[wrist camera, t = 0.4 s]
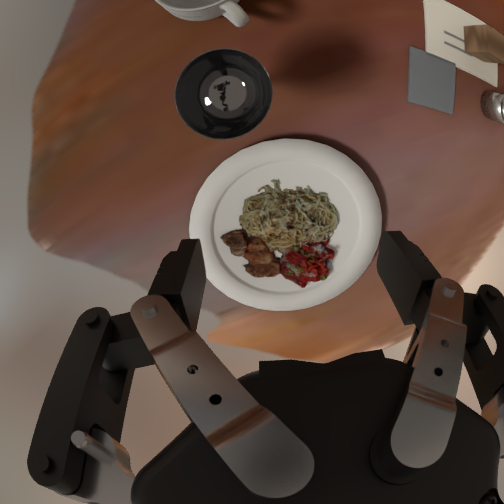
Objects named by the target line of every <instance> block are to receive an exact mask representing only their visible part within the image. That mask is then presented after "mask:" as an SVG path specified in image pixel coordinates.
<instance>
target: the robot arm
mask: <svg viewBox="0 0 504 504" xmlns="http://www.w3.org/2000/svg"><path fill="white" fill-rule="evenodd" d="M377 271H378V274H379V276H380V278H381V279H382V281H383V283H384V285H385V287H386V289H387V291H388V293H389V295H390V297H391V299H392V301H393V303H394V305H395V307H396V309H397V311H398V313H399V315H400V317H401V319H402V321H403V323H404V325H409V324H415V325H416V327H415V329H414V332H413V335H412V338H411V341H410V344H409V347H408V349H407V352H406V355H405V358H404V361H403V362H401V361H398V360H394V359H389V358H385V357H384V354H383V351H382V349H380V350H374V351H367V352H360V353H354V354H351V355H348V356H346V357H343V358H340V359H337V360H335V361H332V362H329V363H314V362H306V361H298V360H275V361H259V370H258V371H255V372H251V373H249V374H246V375H244V376H242V377H240V378H238V379H236V378H235V377H234V376H233V375H232V374H231V372H230V371H229V370H228V369H227V368H226V367H225V365H224V364H223V363H222V362H221V361H220V360H219V359H218V357H217V356H216V355H215V354H214V353H213V351H212V350H211V349H210V348H209V347H208V345H207V344H206V343H205V342H204V340H203V339H202V338H201V337H200V336H199V334H198V333H197V332H196V329H197V323H198V318H199V313H200V308H201V303H202V298H203V293H204V288H205V283H206V269H205V263H204V258H203V252H202V246H201V242H200V239H199V238H198V239H182V240H181V242H180V245H179V247H178V250H177V251H171V252H170V253H169V254H167V255H166V256H165V257H164V258H163V260H162V262H161V264H160V268H159V269H158V271H157V274H156V276H155V278H154V281H153V283H152V285H151V288H150V290H149V292H148V295H147V296H145V297H142V298H140V299H139V300H137V301H136V302H135V303H134V304H133V305H132V308H131V311H130V312H128V313H124V314H119V315H115V316H110V314H109V312H108V311H107V310H106V309H105V308H102V307H95V308H91V309H89V310H87V311H85V312H84V313H83V314H82V315H81V316H80V317H79V318H78V320H77V322H76V324H75V326H74V328H73V331H72V333H71V335H70V337H69V339H68V342H67V344H66V346H65V348H64V351H63V353H62V356H61V358H60V360H59V363H58V365H57V368H56V370H55V373H54V375H53V378H52V380H51V383H50V386H49V388H48V391H47V394H46V397H45V400H44V403H43V406H42V409H41V412H40V415H39V418H38V421H37V424H36V428H35V431H34V435H33V438H32V442H31V446H30V450H29V454H28V459H27V465H28V470H29V473H30V475H31V477H32V478H33V479H34V481H36V482H37V483H38V484H40V485H42V486H44V487H46V488H48V489H51V490H53V491H55V492H56V493H58V494H60V495H63V496H65V497H68V498H71V499H74V500H77V501H79V502H83V503H89V504H504V503H503V502H502V500H501V499H500V497H499V495H498V489H497V477H498V465H499V459H500V458H504V296H503V295H502V293H501V292H500V291H499V290H498V289H496V288H495V287H493V286H491V285H487V284H484V285H481V286H480V287H479V289H478V291H477V294H472V293H464V291H463V289H462V287H461V286H460V285H459V284H458V283H457V282H455V281H454V280H452V279H449V278H442V277H441V275H440V274H439V273H438V271H437V270H436V269H435V267H434V266H433V265H432V263H431V262H430V261H429V259H428V258H427V257H426V256H425V255H424V253H423V252H422V251H421V249H420V248H419V247H418V246H416V245H415V244H414V243H412V242H411V241H408V239H407V238H406V237H405V236H404V234H403V233H402V232H401V231H385V232H384V233H383V235H382V239H381V244H380V249H379V254H378V259H377ZM489 329H490V331H491V333H492V335H493V337H494V338H495V340H496V344H497V349H496V352H495V354H494V355H492V353H491V351H490V349H489V347H488V345H487V343H486V341H485V339H484V336H485V335H486V333H487V332H488V330H489ZM463 362H464V365H465V367H466V369H467V372H468V374H469V377H470V379H471V382H472V384H473V387H474V390H475V393H476V395H477V398H478V401H479V404H480V407H481V410H482V413H481V416H480V415H479V414H478V413H476V412H475V411H473V410H472V409H471V408H469V407H467V406H466V405H465V404H464V403H462V402H461V401H459V400H458V399H457V398H456V394H457V389H458V385H459V380H460V375H461V370H462V363H463ZM154 364H155V365H156V367H157V369H158V370H159V372H160V374H161V375H162V377H163V379H164V380H165V382H166V384H167V385H168V387H169V388H170V390H171V392H172V393H173V395H174V396H175V398H176V400H177V401H178V403H179V404H180V406H181V408H182V409H183V411H184V412H185V414H186V415H187V417H188V418H189V420H190V421H191V423H190V424H189V425H188V426H187V427H186V428H185V429H184V430H183V431H182V432H181V433H180V434H179V435H178V436H177V437H176V438H175V439H174V440H173V441H172V442H170V444H168V445H167V446H166V447H165V448H164V449H163V450H162V451H161V452H160V453H159V454H157V456H155V457H154V458H153V459H152V460H151V461H150V462H149V463H147V464H146V465H145V466H144V467H143V468H142V469H141V470H140V471H139V472H138V474H137V475H136V477H135V475H134V474H133V472H132V470H131V466H130V456H129V453H128V451H127V450H126V448H125V447H124V446H123V445H121V444H120V440H121V434H122V428H123V422H124V417H125V412H126V407H127V401H128V397H129V393H130V388H131V384H132V379H133V375H134V371H135V368H140V367H144V366H149V365H154Z"/></svg>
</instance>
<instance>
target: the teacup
mask: <svg viewBox="0 0 504 504" xmlns="http://www.w3.org/2000/svg"><path fill="white" fill-rule="evenodd" d="M155 1H156V2H157V3H159V4H160V5H162V6H163V7H164V8H165V9H166V10H167V11H168V12H170V13H171V14H173V15H174V16H176V17H179V18H181V19H185V20H190V21H204V20H210V19H213V18H216V17H219V16H221V15H223V16H225V17H226V18H227V19H228V20H230V21H231V22H232V23H233V24H234V25H235V26H237V27H242V26H244V25H246V24H247V23H248V22H249V17H248V15H247V14H246V12H245V11H244V10H243V9H242V8H241V7H240V6H239V5H238V4H237V3H238V2H239V1H240V0H155Z"/></svg>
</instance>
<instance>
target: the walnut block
mask: <svg viewBox="0 0 504 504" xmlns="http://www.w3.org/2000/svg"><path fill="white" fill-rule="evenodd" d="M463 27H464V48H465V52H466V53H468V54H470V55H472V56H474V57H476V58H477V59H479V60H481V61H483V62H488V63H499V64H504V36H503V35H501V34H500V33H499V32H497V31H496V30H494V29H493V28H491V27H490V26H488V25H487V24H484V25H472V26H463Z"/></svg>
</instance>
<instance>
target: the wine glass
mask: <svg viewBox="0 0 504 504" xmlns="http://www.w3.org/2000/svg"><path fill="white" fill-rule="evenodd" d="M272 94H273V91H272V84H271V80H270V77H269V75H268V73H267V71H266V69H265V68H264V67H263V66H262V64H261V63H260V62H259V61H257V60H256V59H255V58H254V57H252V56H251V55H249V54H247V53H245V52H242V51H239V50H235V49H215V50H211V51H207V52H204V53H203V54H201V55H199V56H197V57H195V58H194V59H193V60H191V61H190V62H189V63H188V64H187V65H186V66H185V67H184V69H183V70H182V72H181V73H180V75H179V77H178V80H177V82H176V86H175V96H174V98H175V105H176V108H177V111H178V113H179V115H180V117H181V119H182V120H183V121H184V123H185V124H186V125H187V126H188V127H189V128H190V129H192V130H193V131H194V132H196V133H198V134H199V135H202V136H204V137H207V138H212V139H219V140H226V139H233V138H237V137H240V136H243V135H245V134H247V133H249V132H250V131H252V130H253V129H255V128H256V127H257V126H258V125H259V124H260V123H261V122H262V121H263V119H264V118H265V117H266V115H267V113H268V111H269V109H270V105H271V102H272Z"/></svg>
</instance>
